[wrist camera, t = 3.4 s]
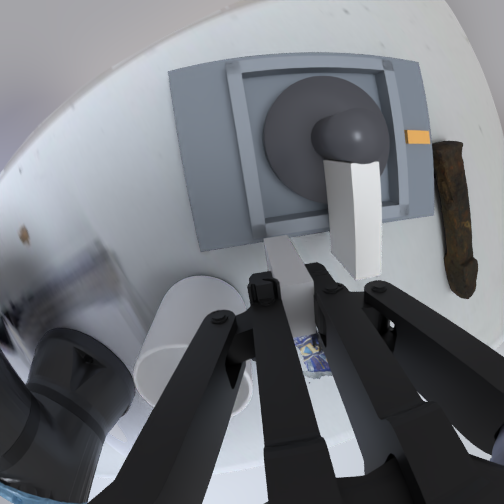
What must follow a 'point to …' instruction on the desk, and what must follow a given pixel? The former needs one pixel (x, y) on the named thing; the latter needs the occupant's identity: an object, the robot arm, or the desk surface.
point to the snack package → (312, 356)
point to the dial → (334, 162)
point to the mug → (185, 335)
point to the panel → (252, 151)
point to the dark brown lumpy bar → (455, 217)
